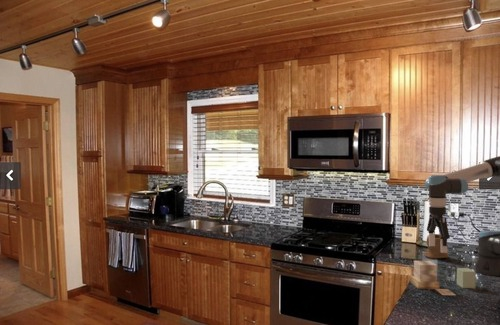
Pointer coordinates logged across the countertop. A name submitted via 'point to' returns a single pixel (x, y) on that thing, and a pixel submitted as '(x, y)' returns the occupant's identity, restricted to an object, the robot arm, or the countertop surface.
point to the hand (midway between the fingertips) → (437, 249)
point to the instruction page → (445, 292)
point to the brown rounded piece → (435, 249)
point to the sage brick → (466, 278)
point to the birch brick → (425, 271)
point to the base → (424, 284)
